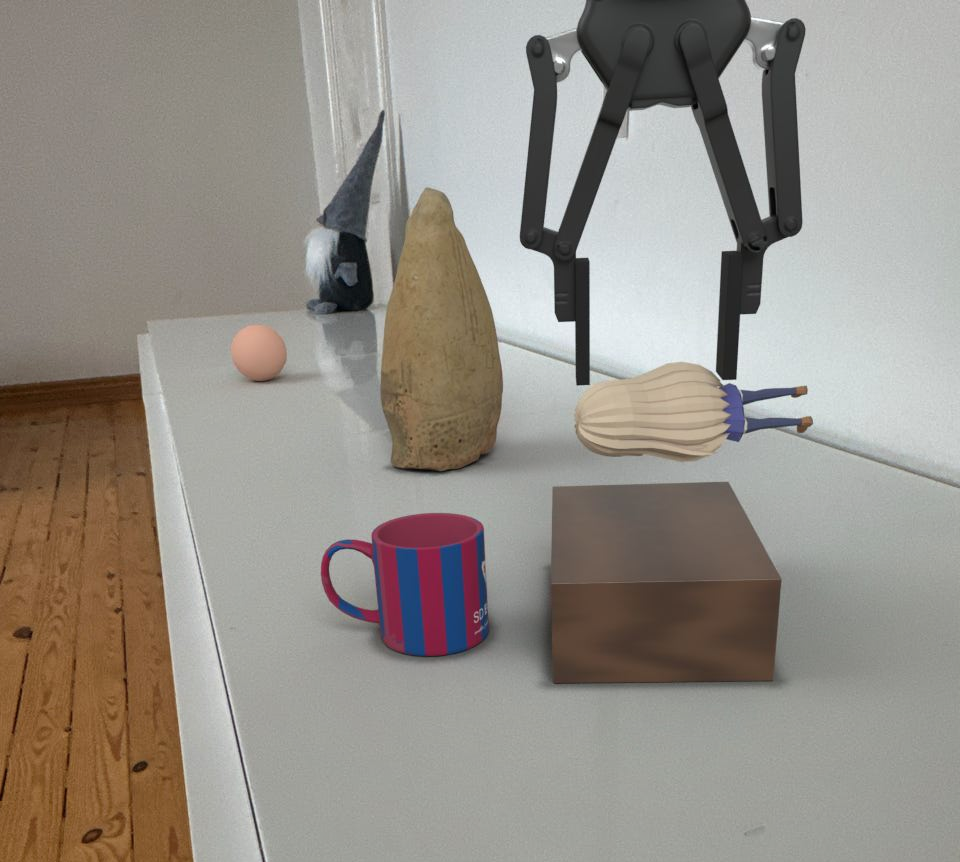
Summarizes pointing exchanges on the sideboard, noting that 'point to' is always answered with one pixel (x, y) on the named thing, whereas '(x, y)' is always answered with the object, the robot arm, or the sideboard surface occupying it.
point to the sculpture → (439, 348)
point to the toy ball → (258, 352)
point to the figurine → (672, 414)
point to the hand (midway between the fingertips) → (653, 377)
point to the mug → (423, 583)
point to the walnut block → (659, 586)
